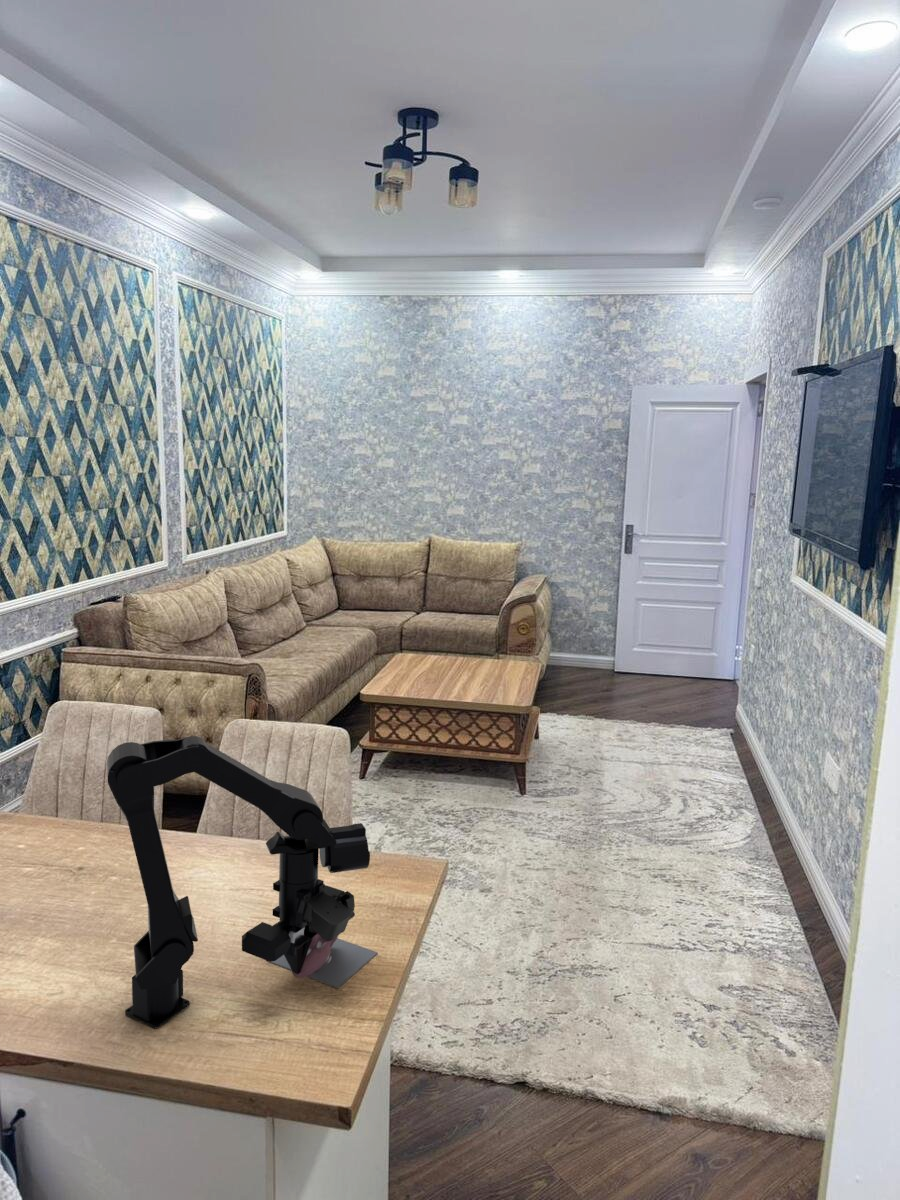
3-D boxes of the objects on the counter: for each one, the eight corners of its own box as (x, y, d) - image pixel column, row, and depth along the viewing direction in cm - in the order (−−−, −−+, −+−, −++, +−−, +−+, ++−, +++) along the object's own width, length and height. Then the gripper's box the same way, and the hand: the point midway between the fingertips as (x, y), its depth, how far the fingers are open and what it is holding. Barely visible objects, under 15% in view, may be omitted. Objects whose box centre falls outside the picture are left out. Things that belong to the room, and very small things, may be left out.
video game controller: (313, 991, 129) (334, 955, 128) (287, 975, 129) (308, 939, 128) (330, 955, 139) (350, 921, 137) (306, 940, 139) (325, 907, 138)
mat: (337, 988, 128) (337, 987, 128) (266, 960, 134) (266, 959, 134) (377, 953, 137) (378, 952, 137) (309, 929, 144) (309, 928, 144)
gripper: (301, 917, 114) (299, 1023, 117) (378, 866, 131) (374, 960, 133) (239, 895, 120) (238, 997, 122) (320, 848, 136) (318, 939, 138)
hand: (296, 972), depth 129 cm, fingers closed
